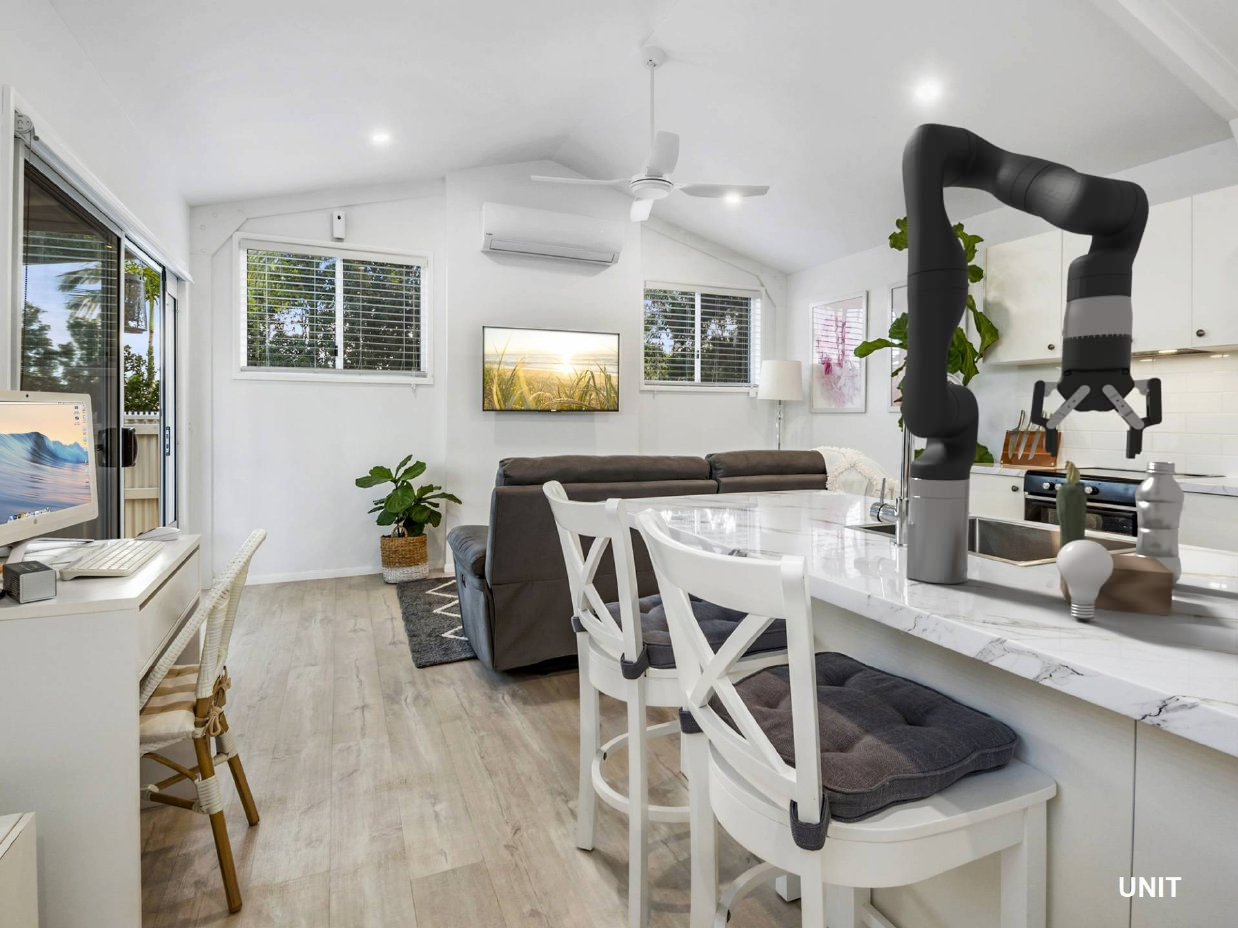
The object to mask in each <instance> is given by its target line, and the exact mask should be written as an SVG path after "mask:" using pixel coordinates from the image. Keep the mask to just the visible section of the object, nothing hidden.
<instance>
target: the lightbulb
mask: <svg viewBox="0 0 1238 928" xmlns="http://www.w3.org/2000/svg"><path fill="white" fill-rule="evenodd" d="M1110 554H1111V552H1110V551H1109V550H1108V549H1107V548H1106V547H1104V546H1103V545H1102V544H1100V543H1098V542H1096V541H1093V540H1090V539H1085V540H1075V541H1072V542H1070V543H1068V544H1066V545H1065V546H1063V547H1062V548H1061V550H1060V549H1059V551H1058V553H1057V556H1056V561H1055V562H1056V568H1057V570H1058V572H1059V574H1060V577H1061V576H1062V577H1063V579H1064V580H1065V582H1066V583H1067V586H1068V591H1069V594H1070V596H1071V603H1072V604H1071V607H1070V609H1071V610H1070V615H1071V617H1073V618H1075V619H1076V620H1078V621H1080V622H1087V621H1090V620H1093V619H1094V618H1095V610H1096V608H1094V607H1095V605H1094V604H1095V600H1096V598H1097V597H1098V594H1099V590H1100V588H1101V587H1102V585H1103V584H1104V583H1105V582H1106V581H1107V580H1108V579H1109V577H1110V576H1111V574H1112V572H1113V566H1114V564H1113V559H1112V556H1111V555H1110Z"/></svg>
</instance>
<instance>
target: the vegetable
mask: <svg viewBox="0 0 1238 928" xmlns="http://www.w3.org/2000/svg"><path fill="white" fill-rule="evenodd" d="M1066 469H1067V470H1066ZM1064 470H1066V476H1065V480H1066V482H1065V483H1062V485H1061V486H1060V487H1059V489H1058V490H1057V492H1056V497H1055V498H1056V500H1055V504H1056V515H1057V519H1058V523H1059V533H1060V534H1059V535H1060V538H1059V551H1060V550H1061V548H1062V547H1063V546H1065V545H1066V544H1068V543H1070V542H1072V541H1075V540H1086V539H1085V538H1086V537H1085V536H1086V535H1085V534H1086V519H1087V505H1088V496H1087V493H1086V490H1085V488H1084V487H1083V486H1082V485H1080V479H1081V472H1080V470H1079V469H1078V467H1076V464H1074V462H1072V461H1070V460H1066V461H1065V465H1064Z"/></svg>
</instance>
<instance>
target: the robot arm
mask: <svg viewBox="0 0 1238 928" xmlns="http://www.w3.org/2000/svg"><path fill="white" fill-rule="evenodd" d="M901 171H902V172H901V173H902V175H901V176H902V183H903V193H904V194H903V195H904V203H905V213H906V229H907V232H906V234H907V274H906V276H907V277H906V279H907V280H906V281H907V282H906V286H907V287H906V288H907V291H906V292H907V293H906V298H907V300H906V301H907V303H906V304H907V328H906V329H907V333H906V334H907V336H906V339H907V340H906V359H905V360H906V361H905V369H904V370H905V371H904V381H903V388H902V396H901V397H902V399H901V415H902V421H903V423H904V426H905V427H906V430H907V431H908V432H909V433H910V434H912V435H913V436H914V437H917V438H918V439H926V443H925V448H924V450H923V451H922V453H921V454H920V455H919V456H917V457H916V458H915V459H913V460H912V461H911V463H910V470H909V471H910V472H909V473H910V474H909V476H910V477H909V515H908V517H909V519H908V520H909V521H908V523H907V529H906V530H907V533H906V534H907V535H906V537H907V538H906V539H907V540H906V542H907V543H906V577H905V578H906V579H911V580H912V579H913V580H917V581H921V582H927V583H932V584H934V583H935V584H936V583H937V584H960V583H961V584H962V583H965V582H967V581H968V570H969V567H968V564H969V563H968V562H969V561H968V558H969V557H968V556H969V554H968V553H969V527H970V526H969V524H970V523H969V522H970V519H969V518H970V485H971V484H970V482H971V479H970V478H971V471H972V467H973V465H974V463H975V461H976V457H977V446H978V436H979V426H980V425H979V423H980V422H979V420H980V417H979V416H980V414H979V413H980V412H979V411H980V410H979V404H978V401H977V398H976V396H975V394H974V393H973V391H972V390H971V389H969V388H968V386H965V385H962V384H957V383H949V379H948V358H949V351H950V347H951V343H952V340H953V338H954V336H955V334H956V332H957V329H958V327H959V325H960V322H961V321H962V319H963V317H964V314H965V311H966V308H967V303H968V299H969V298H968V297H969V296H968V295H969V262H968V259H967V254H966V252H965V250H964V246H963V245H962V243H961V241H960V239H959V237H958V235H957V233H956V231H955V229H954V227H953V225H952V224H951V221H950V218H949V217H948V214H947V211H946V206H945V200H944V198H945V197H944V189H945V188H965V189H975V190H979V191H984V192H986V193H989V194H991V195H992V197H994V198H995V199H997V200H998V201H999V202H1001V203H1002V204H1004V205H1006V206H1007V207H1010V208H1013V209H1015V210H1017V211H1020V212H1023V213H1026V214H1029V215H1032V216H1033V217H1038V218H1041V219H1042V220H1044V221H1046V222H1047V223H1048V224H1051V225H1052V226H1054V227H1056V228H1058V229H1061V230H1062V231H1064V232H1065V231H1066V232H1068V233H1071V234H1074V235H1075V234H1076V235H1083V236H1091V242H1090V245H1089V249H1088V251H1087V253H1086V254H1083V255H1081V256H1078V257H1076V258H1075V259H1074V260H1072V261H1071V262H1070V264H1069V266H1068V269H1067V270H1068V271H1067V279H1066V280H1067V281H1066V282H1067V283H1066V304H1065V309H1064V310H1065V311H1064V316H1063V323H1062V325H1063V326H1062V330H1061V336H1062V346H1061V347H1062V348H1061V349H1062V350H1061V371H1060V373H1061V374H1060V378H1059V380H1058V381H1044V380H1042V379H1040V380H1036V381H1035V382H1034V384H1033V390H1032V391H1033V392H1032V399H1031V409H1030V420H1029V421H1030V423H1032V424H1033V425H1035V426H1040V427H1042V428H1043V429H1044V451H1045V453H1049V458H1057V457H1058V447H1059V446H1058V444H1059V442H1058V441H1059V429H1057V427H1058V426H1059V424H1061V422H1063V421H1064V419H1066V417H1067V416H1068V415H1069V414H1070V413H1071V412H1072V411H1076V412H1077V413H1087V412H1091V411H1094V412H1100V413H1103V412H1104V413H1105V412H1106V413H1107V412H1111V411H1115V413H1117V414H1118V416H1119V417H1121V419H1122V420H1123V421H1124V422H1125V423H1126V424H1127V425H1128V428H1129V429H1127V431H1126V447H1125V459H1128V460H1135V459H1136V455H1140V454H1141V453H1142V451H1143V437H1144V436H1143V433H1144V431H1145V429H1146V428H1149V427H1152V426H1155V425H1160V424H1161V423H1162V422H1163V403H1162V402H1163V400H1162V380H1161V378H1159V377H1151V378H1149V379H1148V378H1147V379H1134V378H1133V377H1132V374H1131V365H1132V361H1131V360H1132V343H1133V340H1132V339H1133V320H1134V319H1133V318H1134V316H1133V315H1134V313H1133V305H1132V291H1133V290H1132V289H1133V287H1132V286H1133V265H1134V262H1135V259H1136V256H1137V255H1138V251H1139V250H1140V245H1141V243H1142V240H1143V237H1144V233H1145V230H1146V227H1147V224H1148V219H1149V213H1150V207H1149V206H1150V204H1149V200H1148V195H1147V193H1146V191H1145V190H1144V188H1143V187H1142V186H1141V185H1139V184H1137V183H1136V182H1133V181H1130V180H1122V179H1116V178H1111V177H1110V178H1109V177H1104V176H1098V175H1093V174H1088V173H1083V172H1079V171H1077V170H1076V169H1074V168H1072V167H1070V166H1069V165H1068V166H1067V165H1065V164H1063V163H1059V162H1056V161H1052V160H1048V159H1044V158H1041V157H1040V158H1039V157H1036V156H1032V155H1027V154H1020V153H1015V152H1011V151H1008V150H1006V149H1003V148H1001V147H999V146H998V145H995V144H993V143H992V142H990V141H988V140H987V139H985V138H983V137H981V136H980V135H978V134H976V133H974V132H972V131H971V130H969V129H968V128H964V127H959V126H953V125H948V124H941V123H940V124H939V123H931V122H930V123H924V124H921V125H919V126H917V127H916V128H915V129H914V130H913V131H911V133H910V134H909V136H908V138H907V140H906V143H905V145H904V148H903V153H902V162H901ZM1134 388H1135V389H1137V390H1138V393H1139V394H1140V395H1141V396H1144V397H1145V412H1146V413H1145V415H1146V416H1144V417H1140V416H1139V415H1138V414H1137V413H1136V412H1135V411H1134V409H1133V407H1131V406H1130V405H1129V403H1128V402H1127V401H1126V400H1125V399H1126V398H1127V397H1128V395H1130V393H1131V392H1132V391H1133V390H1134ZM1054 390H1056V391H1057V393H1059V394H1060V396H1061V397H1062V398H1063V399H1064V401H1063V403H1062V404H1061V405H1060V406H1059V407H1058V408H1057V409H1056V410H1055V412H1054V413H1053V414H1052V415H1051V416H1050V417H1049V418H1047V417H1043V408H1044V402H1045V401H1044V399H1045V398H1048V397H1049V396H1051V395H1052V392H1053V391H1054Z"/></svg>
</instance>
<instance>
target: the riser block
mask: <svg viewBox="0 0 1238 928" xmlns="http://www.w3.org/2000/svg"><path fill="white" fill-rule="evenodd" d="M1110 555H1111V556H1112V559H1113V564H1114V566H1113V572H1112V574H1111V576H1110V577H1109V579H1108V580H1107V581H1106V582H1105V583H1104V584H1103V585H1102V587H1101V588H1100V590H1099V594H1098V597H1097V598H1096V600H1095V604H1094V605H1095V607H1094V608H1095V609H1100V610H1101V609H1102V610H1108V611H1109V610H1110V611H1118V612H1119V611H1120V612H1130V613H1139V614H1148V615H1156V616H1157V615H1158V616H1168V617H1170V616H1172V607H1173V606H1172V601H1173V585H1174V584H1173V573H1172V572H1171V571H1170V570H1169V569H1168V568H1166V567H1165V566H1164V565H1163V564H1162V563H1161V562H1159V561H1158V560H1157V559H1156V558H1155V557H1142V556H1134V555H1127V554H1125V555H1124V554H1113V553H1112V554H1111V553H1110ZM1059 583H1060V585H1059V587H1060V591H1061V592H1062V593H1061V594H1062V595H1063V598H1064V600H1065V603H1066V605H1067V606H1071V604H1072V603H1071V596H1070V594H1069V591H1068V586H1067V583H1066V582H1065V580H1064V579H1063V577H1062V576H1061V575H1060V582H1059ZM1071 607H1072V606H1071Z"/></svg>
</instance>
